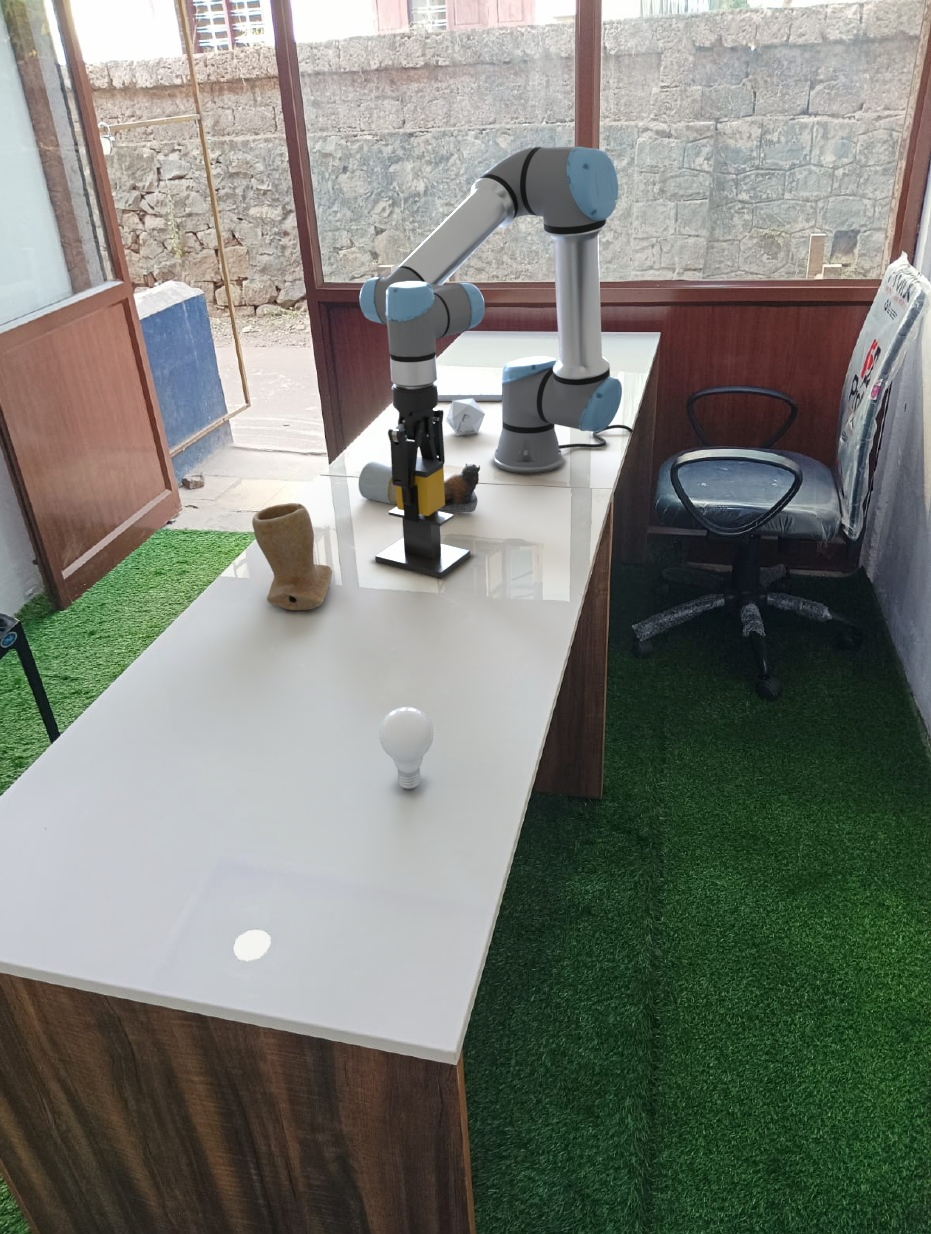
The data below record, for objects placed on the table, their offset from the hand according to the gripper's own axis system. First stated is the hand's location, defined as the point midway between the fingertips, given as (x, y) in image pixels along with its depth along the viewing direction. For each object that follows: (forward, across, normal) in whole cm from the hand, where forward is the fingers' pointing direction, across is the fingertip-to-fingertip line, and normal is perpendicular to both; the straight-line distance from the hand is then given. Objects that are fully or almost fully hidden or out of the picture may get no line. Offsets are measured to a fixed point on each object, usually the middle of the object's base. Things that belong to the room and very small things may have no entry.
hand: (421, 513), depth 161 cm
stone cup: (+9, +22, -12) cm, 26 cm away
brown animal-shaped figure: (+9, -21, -7) cm, 24 cm away
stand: (+9, 0, 0) cm, 9 cm away
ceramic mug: (+9, -20, -22) cm, 32 cm away
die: (+10, -65, -30) cm, 72 cm away
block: (-1, 0, 0) cm, 1 cm away
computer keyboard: (+10, -100, -41) cm, 108 cm away
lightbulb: (+9, +54, +33) cm, 63 cm away
